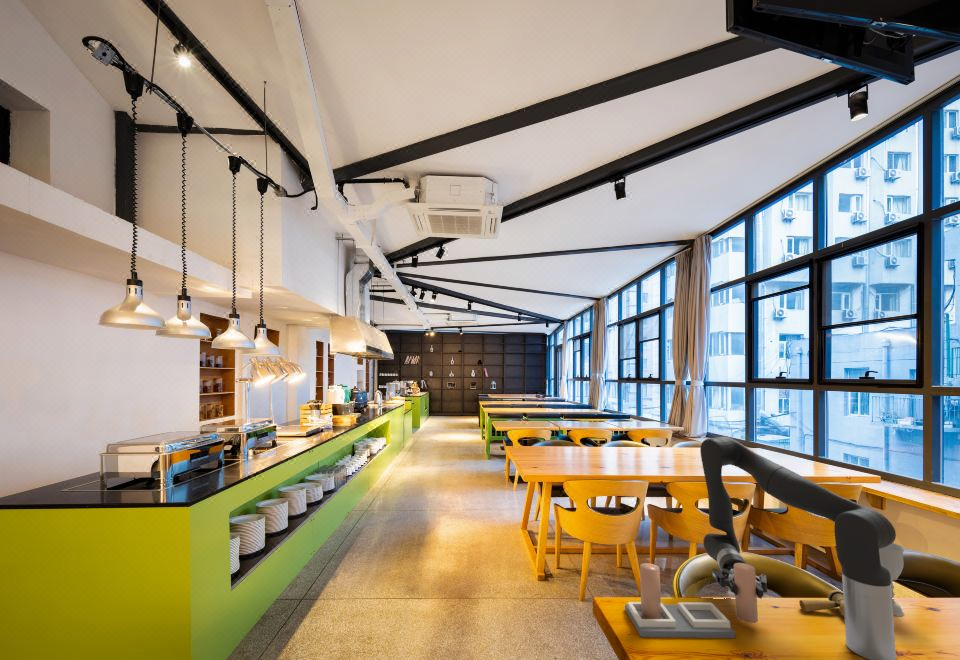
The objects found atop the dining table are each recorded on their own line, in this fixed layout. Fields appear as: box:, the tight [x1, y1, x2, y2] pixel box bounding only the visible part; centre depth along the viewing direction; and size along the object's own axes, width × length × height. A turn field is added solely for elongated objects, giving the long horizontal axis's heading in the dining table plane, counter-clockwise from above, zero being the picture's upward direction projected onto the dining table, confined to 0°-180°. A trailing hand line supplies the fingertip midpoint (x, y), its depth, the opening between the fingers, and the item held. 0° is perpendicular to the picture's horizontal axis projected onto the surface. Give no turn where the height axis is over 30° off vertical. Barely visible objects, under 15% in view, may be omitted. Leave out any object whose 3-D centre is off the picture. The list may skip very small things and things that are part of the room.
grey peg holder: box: [624, 562, 736, 639], centre depth 122 cm, size 24×13×14 cm, turn 90°
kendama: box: [799, 589, 845, 618], centre depth 127 cm, size 8×6×18 cm
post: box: [734, 563, 759, 624], centre depth 121 cm, size 5×5×13 cm
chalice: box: [879, 542, 906, 617], centre depth 129 cm, size 7×7×18 cm
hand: (748, 592), depth 119 cm, fingers closed on post, 5 cm apart
